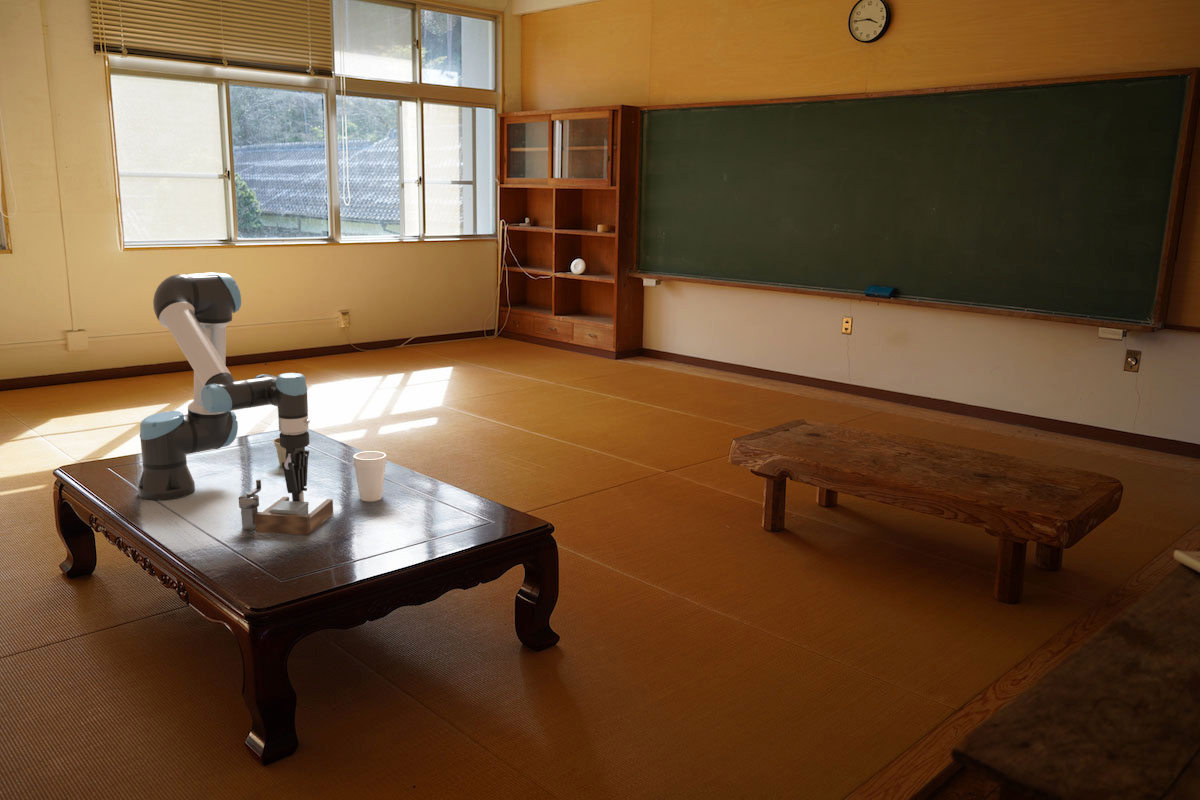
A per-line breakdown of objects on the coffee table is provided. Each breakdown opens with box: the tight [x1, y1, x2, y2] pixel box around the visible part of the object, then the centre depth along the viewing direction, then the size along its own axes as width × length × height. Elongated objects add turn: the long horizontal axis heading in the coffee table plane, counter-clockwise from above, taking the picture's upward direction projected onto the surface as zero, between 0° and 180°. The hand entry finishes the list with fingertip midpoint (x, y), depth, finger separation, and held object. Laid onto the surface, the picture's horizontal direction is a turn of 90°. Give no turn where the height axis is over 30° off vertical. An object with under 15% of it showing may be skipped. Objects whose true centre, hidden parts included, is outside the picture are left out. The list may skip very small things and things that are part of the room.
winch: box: [238, 479, 262, 531], centre depth 246 cm, size 5×9×11 cm, turn 175°
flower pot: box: [272, 437, 286, 468], centre depth 301 cm, size 9×9×9 cm
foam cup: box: [352, 450, 387, 502], centre depth 270 cm, size 10×9×13 cm
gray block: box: [271, 500, 310, 515], centre depth 245 cm, size 7×7×6 cm
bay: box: [254, 496, 334, 536], centre depth 249 cm, size 14×18×5 cm
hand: (298, 514), depth 251 cm, fingers closed
